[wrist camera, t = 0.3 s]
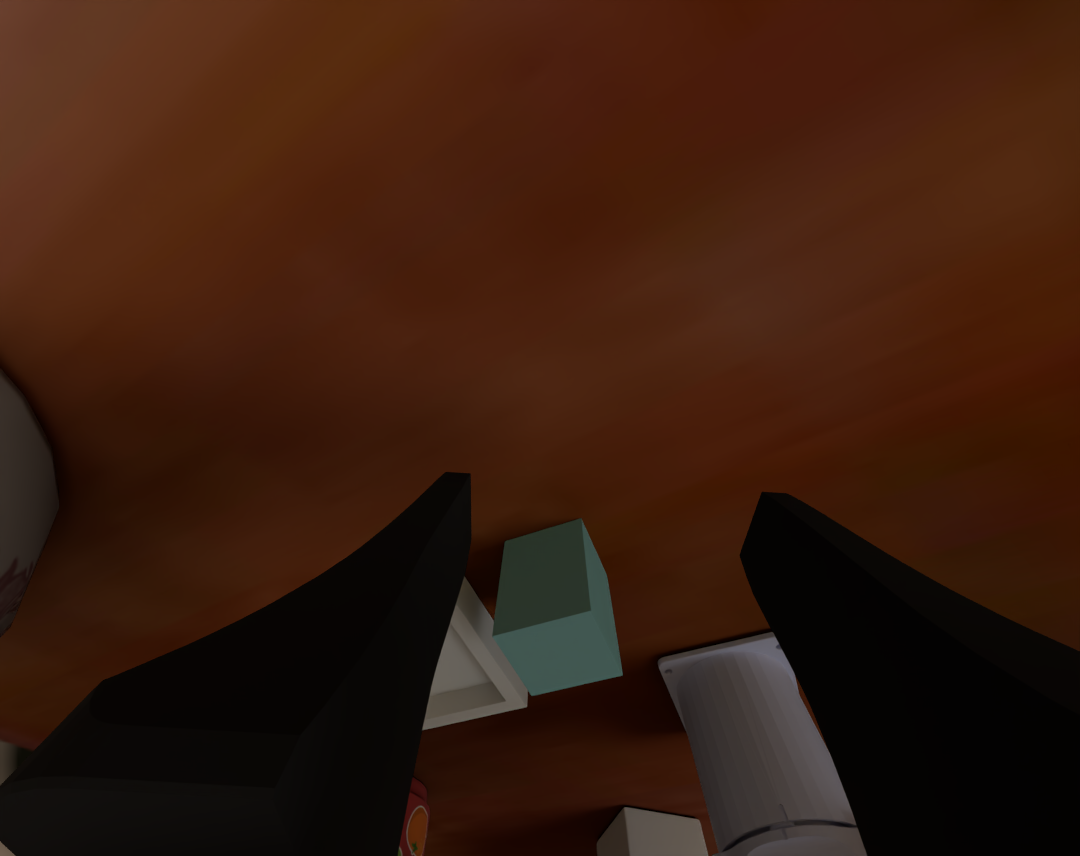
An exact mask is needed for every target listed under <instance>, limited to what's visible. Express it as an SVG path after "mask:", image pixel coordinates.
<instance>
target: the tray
mask: <svg viewBox="0 0 1080 856" xmlns="http://www.w3.org/2000/svg"><path fill="white" fill-rule="evenodd" d="M493 625H494V621H493V619H492V618H491V616H490V615H489V613H488V612H487V610H486V608H485V607H484V605H483V604H482V602H481V601H480V599H479V598H478V596H477V595H476V593H475V591H474V590H473V588H472V587H471V585H470V584H469V582H468V581H467V579H466V578H465V576H464V579H463V583H462V586H461V589H460V593H459V596H458V599H457V602H456V606H455V609H454V612H453V615H452V618H451V622H450V625H449V628H448V631H447V635H446V638H445V641H444V644H443V647H442V651H441V654H440V657H439V660H438V664H437V667H436V671H435V675H434V679H433V682H432V687H431V691H430V696H429V701H428V705H427V710H426V715H425V719H424V724H423V729H422V730H426V729H431V728H435V727H440V726H444V725H449V724H453V723H457V722H462V721H466V720H471V719H475V718H480V717H484V716H489V715H493V714H498V713H502V712H507V711H511V710H516V709H520V708H525V707H527V699H528V690H527V688H526V687H525V685H524V684H523V682H522V681H521V679H520V678H519V676H518V675H517V673H516V672H515V670H514V669H513V667H512V666H511V664H510V663H509V661H508V660H507V658H506V657H505V655H504V654H503V652H502V651H501V649H500V648H499V646H498V645H497V643H496V642H495V640H494V639H493V637H492V633H493Z"/></svg>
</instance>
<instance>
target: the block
mask: <svg viewBox="0 0 1080 856" xmlns="http://www.w3.org/2000/svg"><path fill="white" fill-rule="evenodd" d="M492 637H493V639H494V640H495V642H496V643H497V645H498V646H499V648H500V649H501V651H502V652H503V654H504V655H505V657H506V658H507V660H508V661H509V663H510V664H511V666H512V667H513V669H514V670H515V672H516V673H517V675H518V676H519V678H520V679H521V681H522V682H523V684H524V685H525V687H526V688H527V690H528V691H529V693H530V694H531V696H534V695H539V694H543V693H547V692H552V691H556V690H561V689H565V688H569V687H574V686H578V685H583V684H587V683H591V682H596V681H600V680H605V679H609V678H613V677H618V676H622V675H623V673H622V666H621V660H620V654H619V648H618V641H617V635H616V629H615V623H614V616H613V610H612V604H611V598H610V591H609V585H608V579H607V575H606V572H605V570H604V568H603V566H602V564H601V561H600V559H599V557H598V555H597V552H596V550H595V548H594V546H593V543H592V541H591V539H590V537H589V535H588V532H587V530H586V528H585V526H584V523H583V521H582V519H581V518H580V519H577V520H574V521H570V522H567V523H564V524H561V525H557V526H554V527H551V528H547V529H544V530H541V531H537V532H534V533H531V534H528V535H524V536H521V537H518V538H514V539H511V540H508V541H505V544H504V551H503V559H502V566H501V574H500V581H499V588H498V596H497V603H496V611H495V618H494V625H493V633H492Z"/></svg>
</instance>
